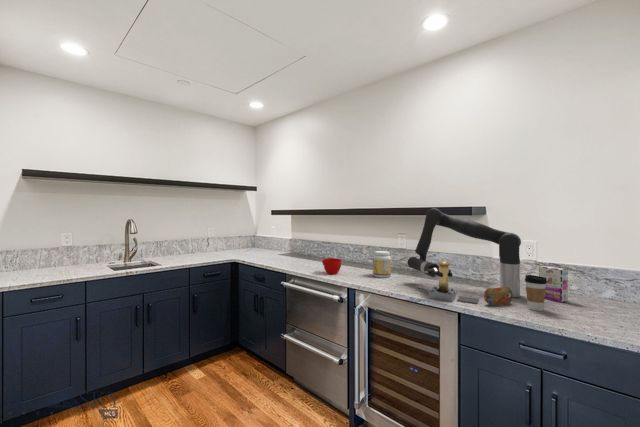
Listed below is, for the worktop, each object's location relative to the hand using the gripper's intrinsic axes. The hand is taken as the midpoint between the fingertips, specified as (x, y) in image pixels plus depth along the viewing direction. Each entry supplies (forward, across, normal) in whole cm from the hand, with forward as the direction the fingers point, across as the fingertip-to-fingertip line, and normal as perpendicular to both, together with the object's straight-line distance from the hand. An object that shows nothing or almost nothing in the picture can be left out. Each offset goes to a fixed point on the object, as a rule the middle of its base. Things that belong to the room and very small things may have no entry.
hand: (446, 274), depth 158 cm
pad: (+4, +9, +12) cm, 16 cm away
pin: (-3, 0, +10) cm, 10 cm away
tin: (+12, +20, +12) cm, 26 cm away
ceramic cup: (-72, -47, +13) cm, 87 cm away
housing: (-3, -1, +12) cm, 13 cm away
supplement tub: (-58, -13, +13) cm, 60 cm away
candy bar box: (+8, +54, +13) cm, 56 cm away
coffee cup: (+21, +32, +12) cm, 40 cm away
